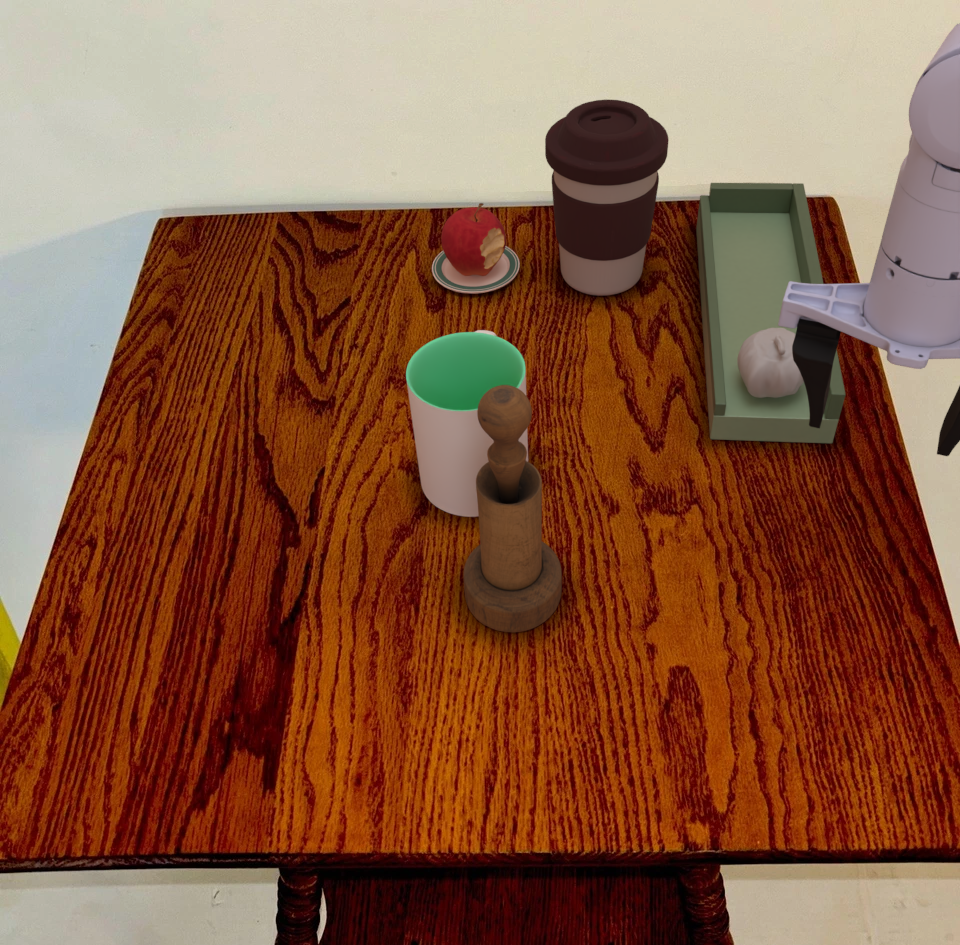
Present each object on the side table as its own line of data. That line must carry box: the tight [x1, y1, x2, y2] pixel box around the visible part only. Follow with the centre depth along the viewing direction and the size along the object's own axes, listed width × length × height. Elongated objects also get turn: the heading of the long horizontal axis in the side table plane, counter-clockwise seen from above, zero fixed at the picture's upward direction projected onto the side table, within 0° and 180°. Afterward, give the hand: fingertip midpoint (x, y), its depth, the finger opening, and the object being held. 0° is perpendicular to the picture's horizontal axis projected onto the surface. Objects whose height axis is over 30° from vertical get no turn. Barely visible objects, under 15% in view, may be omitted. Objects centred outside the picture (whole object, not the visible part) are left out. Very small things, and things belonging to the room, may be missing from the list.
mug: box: [405, 329, 529, 518], centre depth 75 cm, size 12×8×10 cm
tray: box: [695, 182, 846, 444], centre depth 86 cm, size 28×9×5 cm, turn 174°
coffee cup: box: [544, 99, 669, 296], centre depth 88 cm, size 10×10×15 cm
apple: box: [431, 202, 520, 294], centre depth 92 cm, size 8×8×6 cm
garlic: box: [737, 328, 804, 398], centre depth 77 cm, size 6×5×5 cm
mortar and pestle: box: [463, 385, 563, 633], centre depth 63 cm, size 7×6×18 cm
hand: (879, 430), depth 65 cm, fingers open, 7 cm apart
